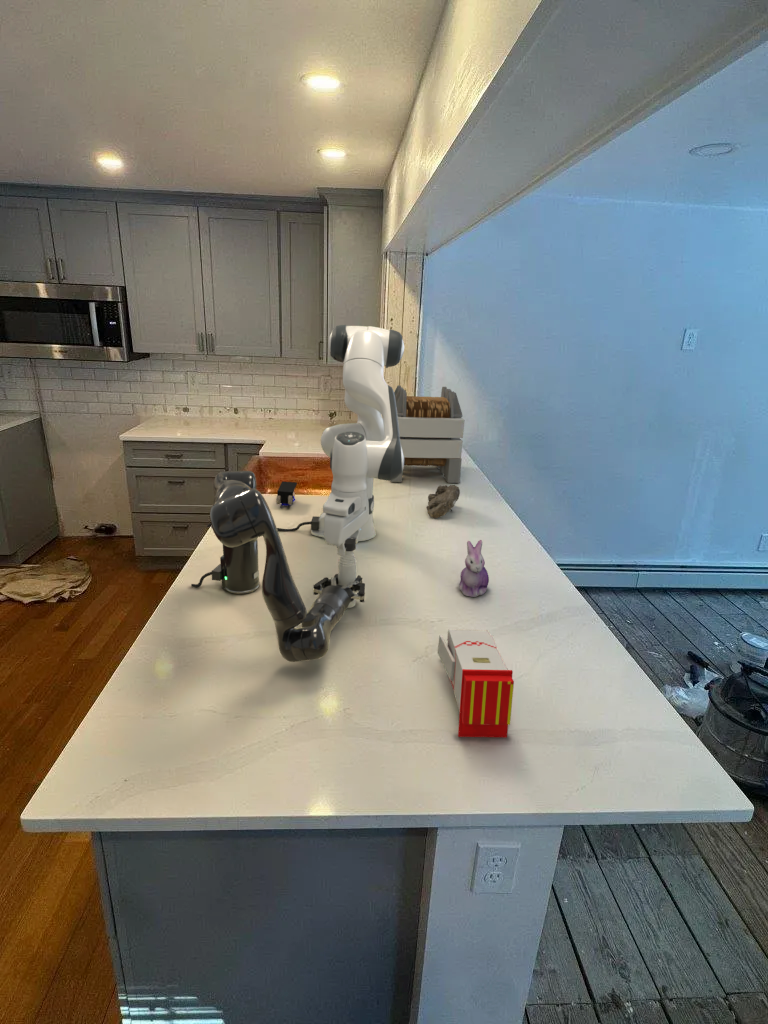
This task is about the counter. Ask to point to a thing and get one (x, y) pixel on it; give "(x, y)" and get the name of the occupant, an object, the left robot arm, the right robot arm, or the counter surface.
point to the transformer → (431, 432)
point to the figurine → (474, 572)
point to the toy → (478, 682)
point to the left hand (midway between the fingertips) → (349, 577)
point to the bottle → (347, 571)
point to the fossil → (442, 500)
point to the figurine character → (286, 494)
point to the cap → (350, 544)
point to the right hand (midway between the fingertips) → (347, 549)
